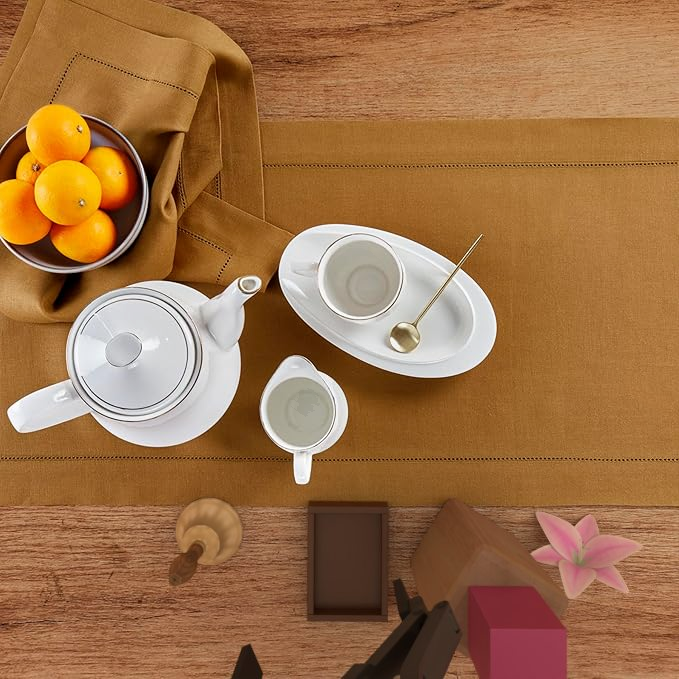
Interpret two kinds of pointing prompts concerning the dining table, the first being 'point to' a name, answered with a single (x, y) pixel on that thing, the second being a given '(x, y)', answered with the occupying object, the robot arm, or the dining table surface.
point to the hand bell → (204, 537)
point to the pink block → (515, 634)
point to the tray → (347, 561)
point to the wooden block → (475, 564)
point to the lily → (583, 553)
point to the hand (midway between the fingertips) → (327, 627)
